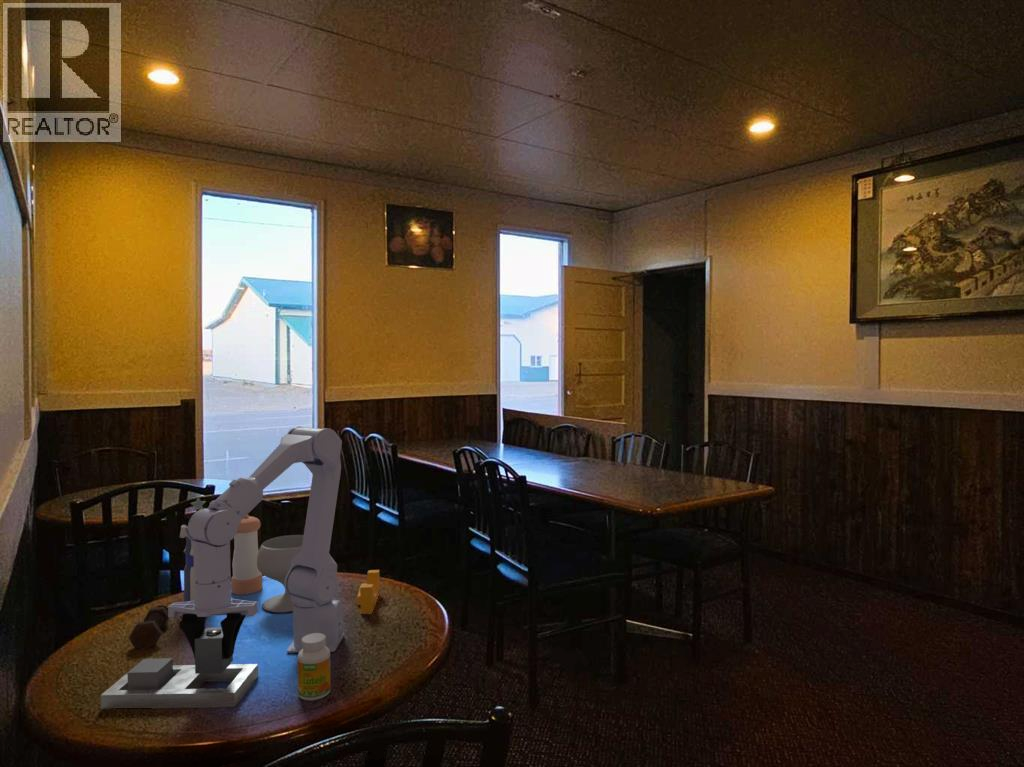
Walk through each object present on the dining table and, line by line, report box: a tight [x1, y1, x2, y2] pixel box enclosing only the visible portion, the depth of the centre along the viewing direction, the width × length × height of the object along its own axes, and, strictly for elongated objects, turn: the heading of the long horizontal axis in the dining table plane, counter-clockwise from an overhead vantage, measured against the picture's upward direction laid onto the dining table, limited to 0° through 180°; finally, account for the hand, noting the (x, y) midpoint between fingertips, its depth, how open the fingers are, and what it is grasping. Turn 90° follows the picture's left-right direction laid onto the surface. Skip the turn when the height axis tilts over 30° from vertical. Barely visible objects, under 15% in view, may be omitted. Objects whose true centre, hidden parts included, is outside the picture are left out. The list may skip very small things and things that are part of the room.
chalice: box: [257, 534, 304, 613], centre depth 149 cm, size 14×14×15 cm
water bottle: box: [179, 497, 207, 602], centre depth 148 cm, size 8×9×25 cm
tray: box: [100, 663, 259, 710], centre depth 109 cm, size 22×10×2 cm, turn 91°
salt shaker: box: [231, 514, 263, 596], centre depth 158 cm, size 7×7×19 cm
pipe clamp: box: [356, 569, 381, 615], centre depth 148 cm, size 12×4×6 cm, turn 4°
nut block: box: [194, 627, 234, 674], centre depth 109 cm, size 4×4×6 cm
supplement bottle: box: [297, 633, 332, 701], centre depth 108 cm, size 5×5×10 cm
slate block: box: [126, 657, 174, 690], centre depth 109 cm, size 5×5×5 cm
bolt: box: [128, 604, 170, 650], centre depth 133 cm, size 6×5×15 cm
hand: (214, 656), depth 109 cm, fingers closed on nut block, 4 cm apart
